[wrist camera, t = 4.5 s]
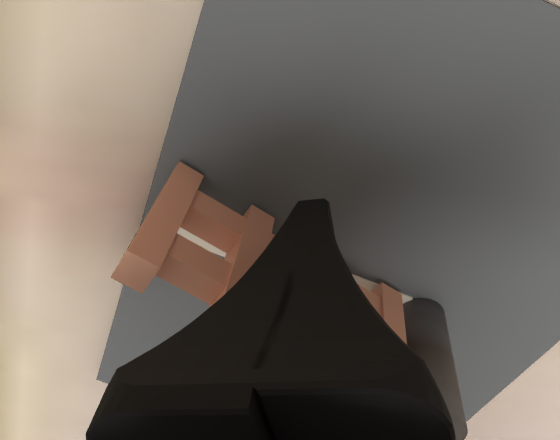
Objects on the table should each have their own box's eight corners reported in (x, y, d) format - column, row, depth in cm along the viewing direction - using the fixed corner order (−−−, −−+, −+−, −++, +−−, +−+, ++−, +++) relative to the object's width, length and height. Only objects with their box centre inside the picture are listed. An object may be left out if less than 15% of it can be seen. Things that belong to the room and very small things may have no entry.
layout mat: (397, 474, 23) (397, 482, 23) (99, 373, 21) (96, 380, 21) (795, 122, 12) (805, 128, 12) (247, -144, 10) (245, -144, 10)
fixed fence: (325, 446, 22) (320, 560, 19) (292, 434, 22) (280, 547, 19) (453, 301, 17) (480, 425, 13) (409, 284, 16) (424, 405, 13)
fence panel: (401, 293, 16) (413, 403, 13) (381, 311, 17) (387, 421, 13) (179, 161, 14) (127, 250, 11) (164, 185, 15) (110, 277, 12)
